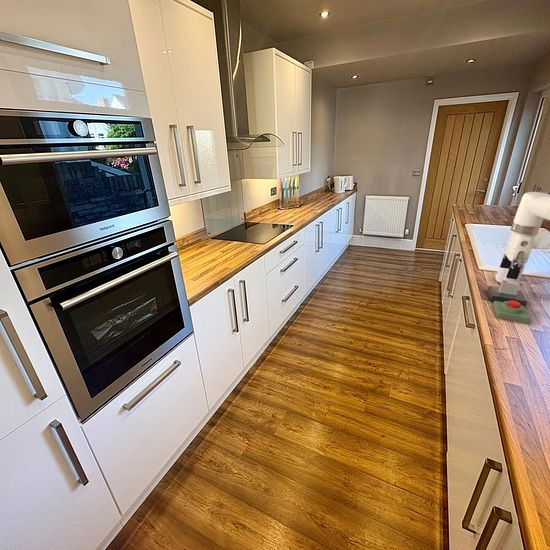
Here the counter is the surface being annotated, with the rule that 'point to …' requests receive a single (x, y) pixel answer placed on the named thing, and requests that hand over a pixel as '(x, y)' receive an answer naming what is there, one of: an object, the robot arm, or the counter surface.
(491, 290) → the plate
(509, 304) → the button
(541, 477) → the counter surface
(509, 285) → the tap handle
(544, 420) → the counter surface
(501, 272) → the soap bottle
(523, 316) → the button box
